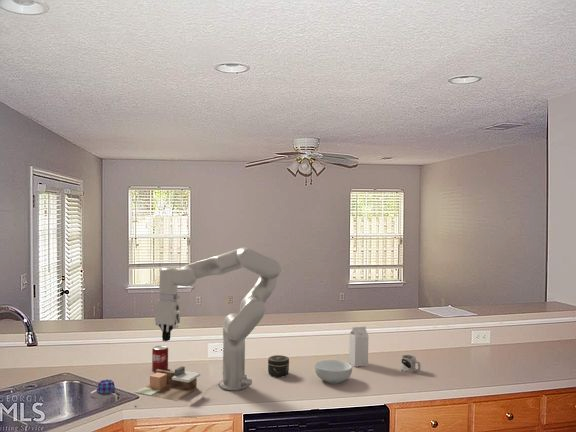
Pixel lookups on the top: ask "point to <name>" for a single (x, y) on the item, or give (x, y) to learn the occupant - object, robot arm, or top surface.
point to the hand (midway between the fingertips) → (166, 340)
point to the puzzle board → (170, 388)
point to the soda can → (159, 358)
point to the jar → (278, 365)
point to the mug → (409, 363)
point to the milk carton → (358, 347)
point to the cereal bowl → (333, 370)
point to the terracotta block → (158, 380)
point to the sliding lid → (184, 375)
